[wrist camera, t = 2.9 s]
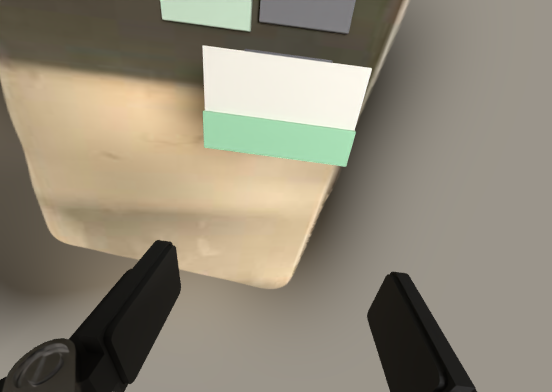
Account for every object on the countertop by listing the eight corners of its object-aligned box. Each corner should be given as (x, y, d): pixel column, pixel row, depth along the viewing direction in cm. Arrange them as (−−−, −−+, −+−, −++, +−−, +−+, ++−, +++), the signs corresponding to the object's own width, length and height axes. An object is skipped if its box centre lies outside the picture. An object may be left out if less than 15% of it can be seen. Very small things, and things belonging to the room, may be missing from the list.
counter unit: (249, 59, 27) (200, 38, 12) (330, 70, 27) (375, 61, 12) (246, 115, 30) (204, 151, 16) (319, 125, 30) (344, 170, 16)
